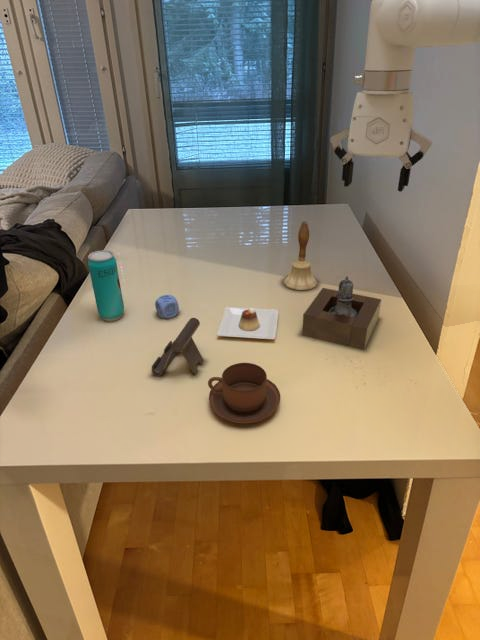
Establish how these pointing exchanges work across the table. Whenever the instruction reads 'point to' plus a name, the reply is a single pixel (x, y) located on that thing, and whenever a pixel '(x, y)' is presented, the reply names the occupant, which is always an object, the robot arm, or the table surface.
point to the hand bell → (301, 265)
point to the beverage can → (106, 285)
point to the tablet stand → (181, 349)
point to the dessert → (249, 323)
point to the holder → (341, 319)
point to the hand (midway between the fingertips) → (373, 187)
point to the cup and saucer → (243, 394)
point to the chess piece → (344, 299)
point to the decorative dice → (167, 306)
